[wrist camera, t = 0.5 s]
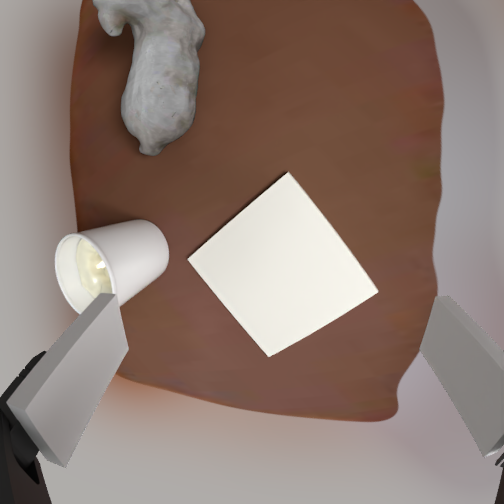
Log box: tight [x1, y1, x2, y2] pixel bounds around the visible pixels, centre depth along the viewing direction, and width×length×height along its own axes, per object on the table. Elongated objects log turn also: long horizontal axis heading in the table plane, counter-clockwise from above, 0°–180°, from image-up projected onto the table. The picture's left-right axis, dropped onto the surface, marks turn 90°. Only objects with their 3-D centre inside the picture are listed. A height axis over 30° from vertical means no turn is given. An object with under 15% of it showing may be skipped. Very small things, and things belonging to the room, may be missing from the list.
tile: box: [188, 172, 378, 357], centre depth 34 cm, size 16×16×1 cm
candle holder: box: [55, 219, 169, 314], centre depth 34 cm, size 10×10×12 cm
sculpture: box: [93, 0, 205, 156], centre depth 25 cm, size 11×21×15 cm, turn 9°
